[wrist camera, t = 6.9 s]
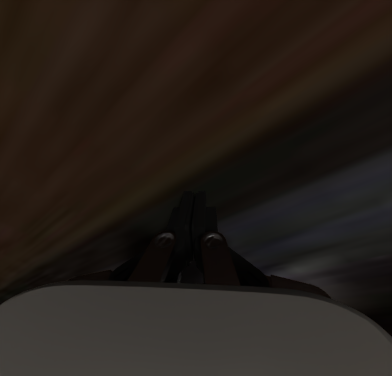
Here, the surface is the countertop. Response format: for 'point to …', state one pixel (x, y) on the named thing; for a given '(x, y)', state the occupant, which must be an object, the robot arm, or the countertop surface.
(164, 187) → the countertop surface
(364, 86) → the countertop surface
